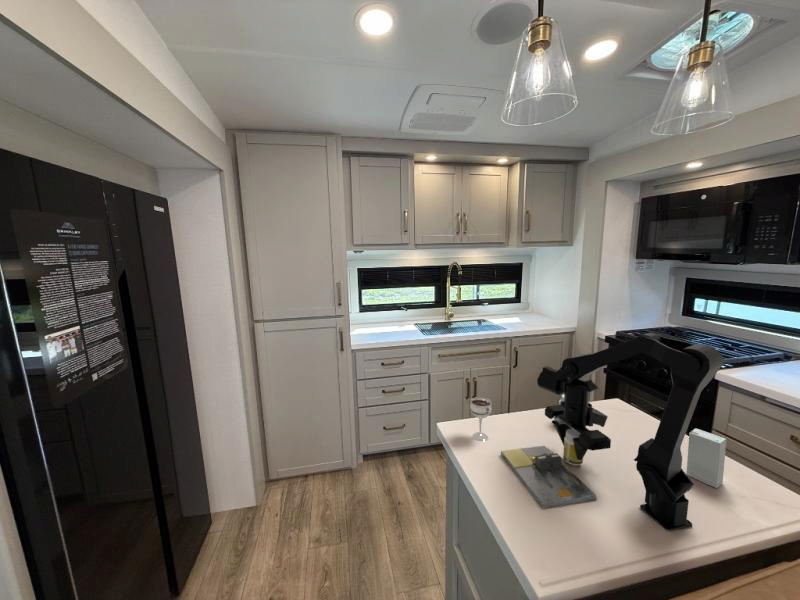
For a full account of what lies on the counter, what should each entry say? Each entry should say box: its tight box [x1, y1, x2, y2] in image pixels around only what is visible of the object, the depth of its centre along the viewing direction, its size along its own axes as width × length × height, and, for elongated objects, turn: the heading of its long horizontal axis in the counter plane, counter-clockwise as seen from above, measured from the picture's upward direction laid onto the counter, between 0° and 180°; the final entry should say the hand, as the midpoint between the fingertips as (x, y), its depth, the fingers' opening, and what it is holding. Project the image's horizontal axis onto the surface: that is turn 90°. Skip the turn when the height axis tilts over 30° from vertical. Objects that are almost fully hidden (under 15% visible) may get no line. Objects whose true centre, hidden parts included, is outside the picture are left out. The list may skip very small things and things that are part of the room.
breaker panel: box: [500, 445, 597, 509], centre depth 82 cm, size 20×14×2 cm
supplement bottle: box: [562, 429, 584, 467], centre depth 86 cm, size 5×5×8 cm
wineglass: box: [469, 396, 492, 442], centre depth 99 cm, size 7×7×12 cm
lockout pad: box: [501, 448, 533, 468], centre depth 87 cm, size 7×6×1 cm
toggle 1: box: [535, 455, 548, 471], centre depth 83 cm, size 2×2×3 cm
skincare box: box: [685, 428, 727, 489], centre depth 79 cm, size 6×4×12 cm
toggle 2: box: [549, 452, 563, 469], centre depth 83 cm, size 2×2×3 cm
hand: (573, 453), depth 86 cm, fingers closed on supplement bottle, 5 cm apart
